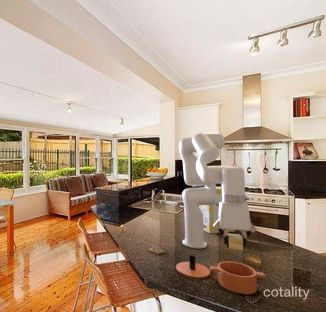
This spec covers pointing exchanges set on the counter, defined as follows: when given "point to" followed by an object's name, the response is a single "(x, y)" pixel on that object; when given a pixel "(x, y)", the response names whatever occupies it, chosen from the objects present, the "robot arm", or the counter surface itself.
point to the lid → (192, 268)
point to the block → (235, 241)
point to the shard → (157, 249)
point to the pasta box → (212, 213)
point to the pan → (237, 277)
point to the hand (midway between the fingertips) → (234, 246)
